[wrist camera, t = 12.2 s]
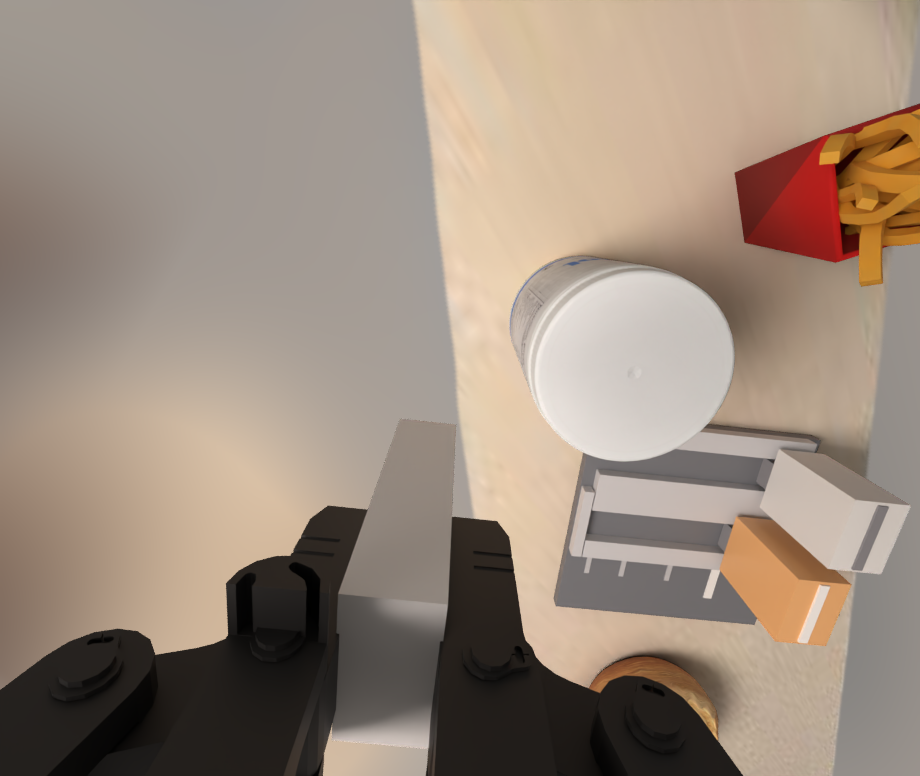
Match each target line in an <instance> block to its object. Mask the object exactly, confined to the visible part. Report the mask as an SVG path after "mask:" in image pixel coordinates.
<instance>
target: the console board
mask: <svg viewBox="0 0 920 776" xmlns="http://www.w3.org/2000/svg"><path fill="white" fill-rule="evenodd" d="M820 441H821V440H819V439H817V438H816V437H814V436H812V435H803V434H794V433H784V432H775V431H765V430H756V429H746V428H737V427H728V426H718V425H709V424H707V425H706V426H705V427H704V428H703V429H702V430H701V431H700V432H699V433H698V434H697V435H696V436H694V437H693V438H692V439H690V440H689V441H688V442H686V443H685V444H683V445H682V446H680V447H678V448H676V449H674V450H672V451H670V452H668V453H665V454H663V455H660V456H657V457H653V458H650V459H645V460H639V461H626V462H624V461H611V460H605V459H600V458H597V457H593V456H590V455H588V454H585V453H583V457H582V462H581V467H580V472H579V477H578V481H577V486H576V491H575V496H574V501H573V506H572V511H571V516H570V521H569V526H568V531H567V536H566V540H565V545H564V550H563V555H562V560H561V565H560V570H559V575H558V580H557V585H556V590H555V594H554V601H555V605H556V606H560V607H571V608H581V609H592V610H603V611H613V612H624V613H635V614H645V615H656V616H667V617H677V618H688V619H699V620H709V621H720V622H731V623H741V624H752V625H755V622H756V619H757V617H756V616H755V615H754V613H753V612H752V611H751V610H750V608H749V607H748V606H747V604H746V603H745V602H744V601H743V599H742V598H741V597H740V595H739V594H738V593H737V592H736V590H735V589H734V588H733V586H732V585H731V584H730V583H729V581H728V580H727V579H726V578H725V576H724V575H723V574H722V572H721V571H720V570H719V568H720V565H721V562H722V559H723V556H724V553H725V552H724V551H723V550H722V549H721V548H720V547H719V545H718V541H719V538H720V534H721V531H722V528H723V525H724V524H732V525H734V522H735V518H736V516H738V517H748V518H757V519H767V520H774V521H775V522H776V523H778V524H779V525H780V526H781V527H782V528H783V529H784V530H785V531H786V532H788V533H789V534H790V535H791V536H792V537H793V538H794V539H795V540H796V541H798V542H799V543H800V544H801V545H802V546H803V547H804V548H805V549H806V550H807V551H809V552H810V553H811V554H812V555H813V556H814V557H815V558H816V559H817V560H819V561H820V562H821V563H822V564H823V565H824V566H825V567H826V568H827V569H833V570H844V571H854V572H864V573H875V574H881V573H882V571H883V569H884V566H885V564H886V562H887V560H888V557H889V555H890V553H891V550H892V548H893V546H894V544H895V541H896V539H897V537H898V535H899V532H900V530H901V528H902V525H903V523H904V521H905V519H906V516H907V514H908V512H909V509H910V507H911V505H909V504H907V503H906V502H904V501H903V500H901V499H899V498H897V497H896V496H894V495H892V494H891V493H889V492H887V491H886V490H884V489H882V488H881V487H879V486H877V485H876V484H874V483H872V482H871V481H869V480H867V479H865V478H864V477H862V476H860V475H859V474H857V473H855V472H854V471H852V470H850V469H849V468H847V467H845V466H844V465H842V464H840V463H839V462H837V461H835V460H833V459H832V458H830V457H828V456H827V455H825V454H820V453H816V452H817V450H818V447H819V444H820Z"/></svg>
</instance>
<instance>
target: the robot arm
mask: <svg viewBox="0 0 920 776" xmlns="http://www.w3.org/2000/svg"><path fill="white" fill-rule="evenodd" d="M455 436H456V425H454V424H445V423H436V422H427V421H417V420H408V419H400V420H399V423H398V426H397V429H396V431H395V435H394V437H393V440H392V443H391V445H390V448H389V451H388V454H387V457H386V460H385V462H384V465H383V468H382V471H381V474H380V477H379V480H378V482H377V485H376V488H375V491H374V494H373V496H372V499H371V502H370V505H369V508H368V510H365V509H356V508H345V507H336V506H327V507H326V508H324V509H323V510H322V511H320V512H319V513H318V514H316V515H315V516H314V517H312V518H311V519H310V521H309V523H308V524H307V526H306V528H305V530H304V532H303V534H302V536H301V539H299V541H298V543H297V545H296V546H295V548H294V552H293V553H292V554H291V556H275V557H271V558H267V559H263V560H260V561H256V562H254V563H252V564H250V565H249V566H247V567H245V568H243V569H241V570H239V571H238V572H237V573H236V574H235V575H234V576H233V577H232V578H231V579H230V580H229V581H228V582H227V583H226V591H227V614H228V615H227V616H228V636H227V637H226V639H224V640H222V641H219V642H217V643H215V644H211V645H207V646H203V647H199V648H194V649H188V650H182V651H177V652H171V653H164V654H159V655H155V652H154V649H153V646H152V644H151V641H150V639H148V638H147V637H145V636H144V635H142V634H141V633H139V632H138V631H131V630H123V629H114V630H107V631H101V632H94V633H91V634H89V635H86V636H83V637H81V638H78V639H75V640H72V641H70V642H68V643H66V644H65V645H63V646H61V647H60V648H58V649H56V650H55V651H53V652H52V653H50V654H48V655H46V656H45V657H44V658H42V659H41V660H40V661H38V662H37V663H36V664H34V665H33V666H32V667H30V668H29V669H27V670H26V671H25V672H24V673H22V674H21V675H20V676H18V677H17V678H16V679H14V680H13V681H12V682H10V683H9V684H8V685H6V686H5V687H4V688H2V689H1V690H0V776H323V765H324V752H325V748H326V744H327V741H328V737H329V733H330V730H331V726H332V740H335V741H346V742H357V743H368V744H379V745H390V746H401V747H413V748H423V749H428V761H427V762H428V763H427V771H426V776H743V775H742V774H741V772H740V771H739V769H738V768H737V767H736V765H735V764H734V763H733V761H732V760H731V758H730V757H729V756H728V754H727V753H726V751H725V750H724V749H723V747H722V746H721V745H720V743H719V742H718V740H717V739H716V738H715V736H714V735H713V733H712V732H711V731H710V729H709V728H708V727H707V725H706V724H705V722H704V721H703V720H702V718H701V717H700V715H699V714H698V713H697V712H696V711H695V710H694V709H693V708H692V707H691V706H690V705H689V704H688V702H687V701H686V700H685V699H684V698H683V697H682V696H680V695H679V694H677V693H676V692H674V691H673V690H671V689H670V688H668V687H667V686H665V685H664V684H662V683H659V682H657V681H654V680H651V679H648V678H646V677H643V676H628V675H624V676H621V677H618V678H615V679H613V680H610V681H609V682H608V683H607V684H606V686H605V687H604V688H603V690H602V691H601V692H600V693H599V692H596V691H594V690H591V689H589V688H586V687H583V686H581V685H578V684H576V683H573V682H571V681H568V680H566V679H564V678H562V677H560V676H558V675H556V674H555V673H553V672H552V671H551V670H549V669H548V668H546V667H545V666H544V665H543V664H542V663H541V662H540V661H539V660H538V659H537V658H536V656H535V654H534V651H533V649H532V647H531V646H530V645H529V644H528V643H527V642H526V640H525V637H524V633H523V628H522V621H521V614H520V608H519V601H518V594H517V587H516V581H515V574H514V567H513V560H512V558H511V556H512V554H511V547H510V540H509V536H508V535H507V534H506V532H505V531H504V530H503V528H502V527H501V526H500V525H499V523H498V522H497V521H489V520H479V519H470V518H460V517H452V503H453V502H452V501H453V481H454V459H455Z"/></svg>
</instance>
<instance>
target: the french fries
mask: <svg viewBox="0 0 920 776" xmlns="http://www.w3.org/2000/svg"><path fill="white" fill-rule="evenodd" d="M735 178H736V185H737V192H738V199H739V206H740V213H741V220H742V227H743V234H744V241H745V243H749V244H754V245H758V246H763V247H767V248H772V249H776V250H781V251H785V252H790V253H795V254H799V255H804V256H808V257H813V258H817V259H822V260H826V261H831V262H835V263H836V262H839V261H842V260H846V259H849V258H852V257H855V256H858V255H859V283H860V285H861V287H862V286H868V285H875V284H882V283H883V273H882V248H884V247H887V246H902V245H911V244H918V243H920V104H917V105H914V106H911V107H908V108H905V109H902V110H899V111H896V112H893V113H890V114H887V115H884V116H881V117H879V118H876V119H873V120H870V121H867V122H864V123H861V124H858V125H855V126H852V127H849V128H846V129H843V130H840V131H837V132H834V133H831V134H828V135H825V136H822V137H820V138H818V139H815V140H813V141H810V142H808V143H805V144H803V145H801V146H798V147H796V148H793V149H791V150H788V151H786V152H784V153H781V154H779V155H776V156H774V157H772V158H769V159H767V160H764V161H762V162H759V163H757V164H755V165H752V166H750V167H747V168H745V169H742V170H740V171H738V172H735Z"/></svg>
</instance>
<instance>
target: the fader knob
mask: <svg viewBox="0 0 920 776" xmlns="http://www.w3.org/2000/svg"><path fill="white" fill-rule="evenodd" d="M718 545H719V547H720V548H721V549H722V550H723V551H724V552H725V553H724V556H723V559H722V562H721V565H720V568H719V570H720V571H721V572H722V574H723V575H724V576H725V578H726V579H727V580H728V581H729V583H730V584H731V585H732V586H733V588H734V589H735V590H736V592H737V593H738V594H739V595H740V597H741V598H742V599H743V601H744V602H745V603H746V604H747V606H748V607H749V608H750V610H751V611H752V612H753V613H754V615H755V616H756V617H757V619H758V620H759V621H760V622H761V624H762V625H763V626H764V628H765V629H766V630H767V631H768V633H769V634H770V635H771V637H772V638H773V639H774V640H775V641H776V642H787V643H798V644H809V645H819V646H826V644H827V642H828V640H829V637H830V635H831V632H832V630H833V628H834V625H835V623H836V621H837V618H838V616H839V613H840V611H841V609H842V606H843V604H844V602H845V599H846V597H847V594H848V592H849V590H850V587H851V584H850V583H849V582H848V581H847V580H846V579H844V578H843V577H842V576H841V575H840V574H839V573H838V572H837V571H835V570H833V569H827V568H826V567H825V566H824V565H823V564H822V563H821V562H820V561H819V560H817V559H816V558H815V557H814V556H813V555H812V554H811V553H810V552H809V551H807V550H806V549H805V548H804V547H803V546H802V545H801V544H800V543H799V542H798V541H796V540H795V539H794V538H793V537H792V536H791V535H790V534H789V533H788V532H786V531H785V530H784V529H783V528H782V527H781V526H780V525H779V524H778V523H776V522H775V521H774V520H767V519H757V518H748V517H738V516H736V518H735V522H734V525H732V524H724V525H723V528H722V531H721V534H720V538H719V541H718Z"/></svg>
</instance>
